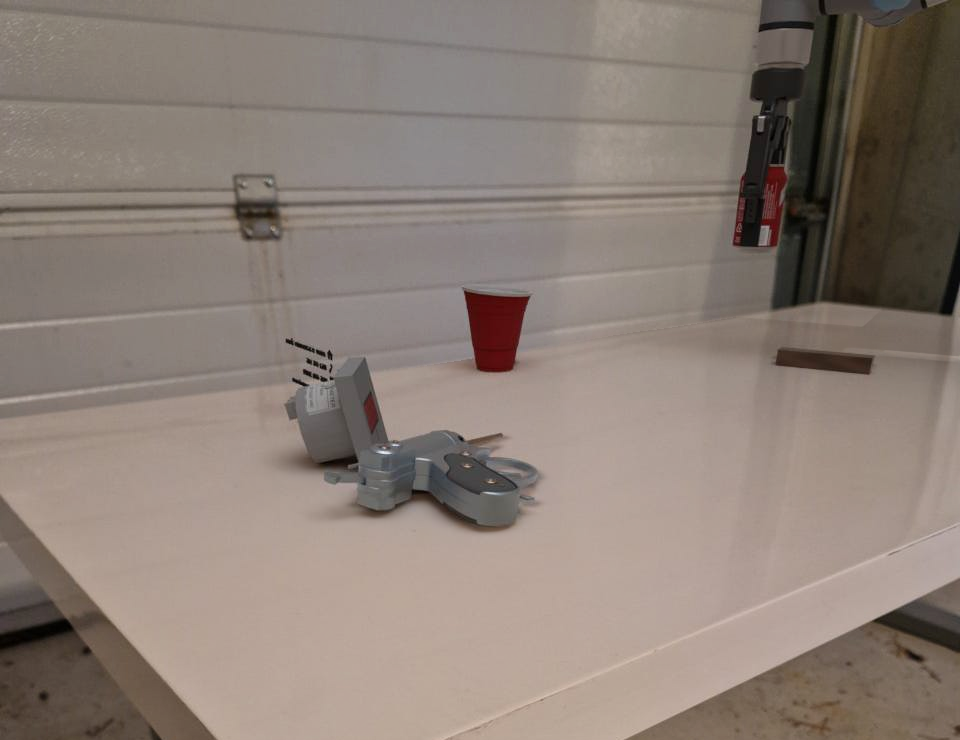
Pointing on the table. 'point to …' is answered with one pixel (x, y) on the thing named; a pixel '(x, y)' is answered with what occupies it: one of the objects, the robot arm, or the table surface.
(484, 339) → the plastic cup
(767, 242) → the soda can
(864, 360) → the walnut stick
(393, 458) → the grey metal jointed piece
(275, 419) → the table surface
